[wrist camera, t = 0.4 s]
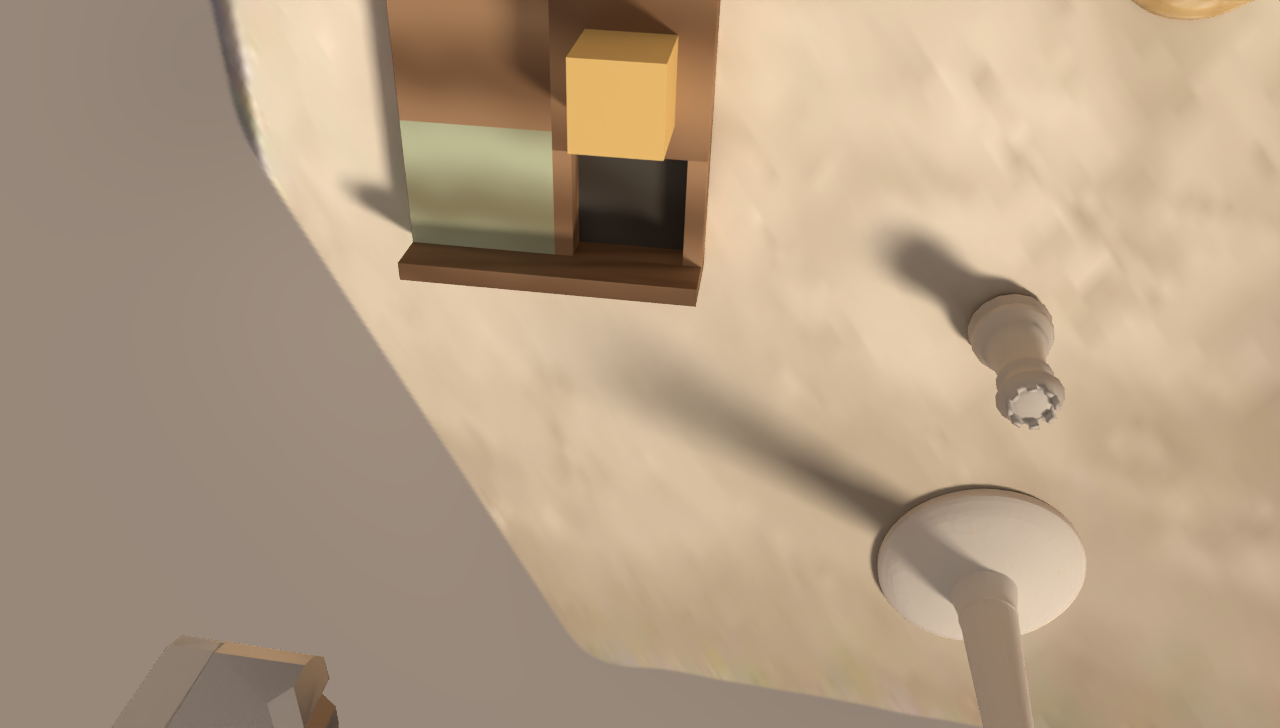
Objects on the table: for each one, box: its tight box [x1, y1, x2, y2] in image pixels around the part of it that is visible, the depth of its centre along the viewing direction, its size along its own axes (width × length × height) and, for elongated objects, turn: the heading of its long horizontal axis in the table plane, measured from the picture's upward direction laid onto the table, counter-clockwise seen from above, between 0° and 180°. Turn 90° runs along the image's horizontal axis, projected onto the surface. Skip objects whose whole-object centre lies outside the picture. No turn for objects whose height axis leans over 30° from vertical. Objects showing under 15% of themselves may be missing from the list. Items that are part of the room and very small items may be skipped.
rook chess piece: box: [967, 294, 1065, 430], centre depth 54 cm, size 4×4×8 cm
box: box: [386, 0, 720, 307], centre depth 50 cm, size 22×16×4 cm
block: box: [566, 29, 678, 161], centre depth 48 cm, size 4×4×4 cm
